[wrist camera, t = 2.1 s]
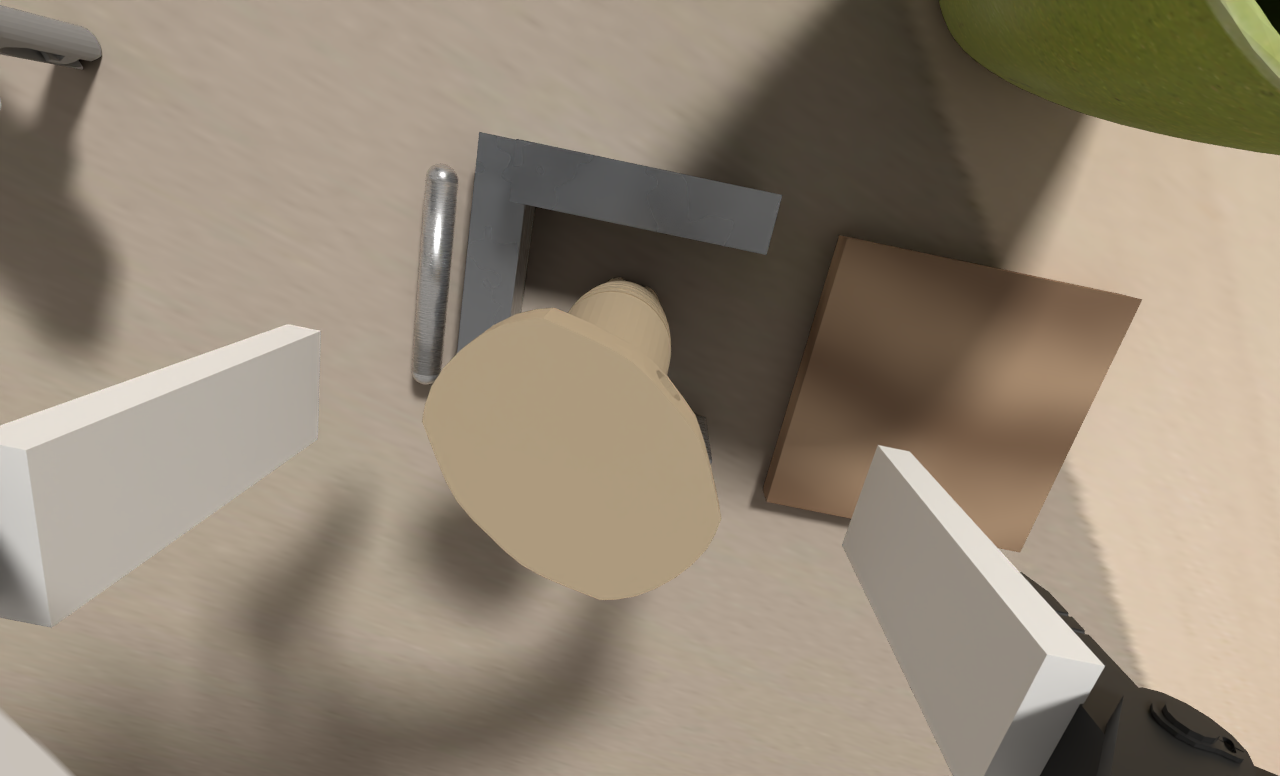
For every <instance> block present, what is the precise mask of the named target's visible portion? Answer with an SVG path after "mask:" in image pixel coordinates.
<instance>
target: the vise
mask: <svg viewBox="0 0 1280 776" xmlns="http://www.w3.org/2000/svg"><path fill="white" fill-rule="evenodd" d="M457 190H458V177H457V174H456V172H455V171H454V170H453V169H452V168H451V167H450V166H448V165H446V164H436V165H433V166H432V167H431V168H429V170H428V172H427V174H426V184H425V197H424V210H423V224H422V237H421V251H420V264H419V277H418V291H417V304H416V318H415V331H414V344H413V358H412V375H413V377H414V379H415V380H416V381H417V382H419V383H421V384H426V385H427V384H432V383H434V382H435V380H436V379H437V377H438V376H439V374H440V373H441V364H442V353H443V342H444V331H445V321H446V310H447V299H448V288H449V277H450V266H451V255H452V244H453V233H454V222H455V212H456V201H457ZM781 198H782V195H780V194H775V193H770V192H766V191H761V190H756V189H751V188H747V187H742V186H737V185H732V184H728V183H723V182H718V181H713V180H709V179H704V178H699V177H695V176H690V175H685V174H680V173H676V172H671V171H666V170H661V169H657V168H652V167H647V166H642V165H638V164H633V163H628V162H624V161H619V160H614V159H609V158H605V157H600V156H595V155H590V154H586V153H581V152H576V151H571V150H567V149H562V148H557V147H552V146H548V145H543V144H538V143H534V142H529V141H524V140H519V139H516V140H515V139H510V138H505V137H500V136H496V135H491V134H486V133H482V132H479V140H478V150H477V160H476V170H475V180H474V190H473V200H472V210H471V220H470V230H469V240H468V250H467V260H466V270H465V280H464V290H463V300H462V310H461V320H460V330H459V340H458V350H457V353H458V352H459V351H460V350H461V349H463V348H464V347H465V346H466V345H467V344H469V343H470V342H471V341H473V340H474V339H475V338H477V337H478V336H479V335H481V334H482V333H484V332H485V331H486V330H488V329H489V328H490V327H492V326H493V325H495V324H497V323H499V322H501V321H503V320H505V319H507V318H509V317H511V316H513V315H515V314H518V313H521V309H522V302H523V294H524V287H525V280H526V272H527V265H528V257H529V250H530V242H531V235H532V227H533V220H534V213H535V207H540V208H544V209H549V210H554V211H559V212H563V213H568V214H573V215H578V216H583V217H587V218H592V219H597V220H602V221H607V222H611V223H616V224H621V225H626V226H631V227H635V228H640V229H645V230H650V231H654V232H659V233H664V234H669V235H674V236H678V237H683V238H688V239H693V240H698V241H702V242H707V243H712V244H717V245H721V246H726V247H731V248H736V249H741V250H745V251H750V252H755V253H760V254H765V255H767V251H768V247H769V244H770V240H771V236H772V232H773V229H774V225H775V221H776V217H777V213H778V210H779V206H780V202H781ZM695 416H696V418H697V421H698V424H699V427H700V430H701V433H702V436H703V439H704V442H705V446H706V450H707V453H708V457H709V461H710V465H711V463H712V457H711V450H710V444H709V437H708V431H707V424H706V418H705V417H702V416H697V415H695Z"/></svg>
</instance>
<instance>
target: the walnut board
mask: <svg viewBox="0 0 1280 776" xmlns="http://www.w3.org/2000/svg"><path fill="white" fill-rule="evenodd" d="M1141 301H1142V300H1141V299H1137V298H1133V297H1130V296H1126V295H1122V294H1117V293H1112V292H1108V291H1103V290H1098V289H1093V288H1088V287H1084V286H1079V285H1074V284H1069V283H1065V282H1060V281H1055V280H1050V279H1046V278H1041V277H1036V276H1031V275H1027V274H1022V273H1017V272H1012V271H1008V270H1003V269H998V268H993V267H989V266H984V265H979V264H974V263H970V262H965V261H960V260H955V259H950V258H946V257H941V256H936V255H931V254H927V253H922V252H917V251H912V250H908V249H903V248H898V247H893V246H889V245H884V244H879V243H874V242H870V241H865V240H860V239H855V238H851V237H846V236H841V235H839V238H838V241H837V244H836V248H835V251H834V254H833V258H832V261H831V264H830V268H829V271H828V274H827V277H826V281H825V284H824V287H823V291H822V294H821V297H820V301H819V304H818V307H817V311H816V314H815V317H814V321H813V324H812V327H811V331H810V334H809V337H808V340H807V344H806V347H805V350H804V354H803V357H802V360H801V364H800V367H799V370H798V374H797V377H796V380H795V384H794V387H793V390H792V393H791V397H790V400H789V403H788V407H787V410H786V413H785V417H784V420H783V423H782V427H781V430H780V433H779V437H778V440H777V443H776V447H775V450H774V453H773V456H772V460H771V463H770V466H769V470H768V473H767V476H766V480H765V483H764V486H763V492H764V495H765V498H766V502H770V503H775V504H780V505H785V506H790V507H795V508H800V509H805V510H810V511H815V512H820V513H825V514H830V515H836V516H841V517H846V518H851V519H852V516H853V513H854V510H855V507H856V505H857V502H858V499H859V496H860V493H861V491H862V488H863V485H864V482H865V479H866V477H867V474H868V471H869V468H870V465H871V463H872V460H873V457H874V454H875V451H876V449H877V446H878V445H880V446H885V447H890V448H895V449H900V450H905V451H910V452H911V453H912V455H913V456H914V457H915V458H916V459H917V460H918V461H919V462H920V463H921V464H922V466H923V467H924V468H925V469H926V470H927V471H928V472H929V473H930V474H931V475H932V477H933V478H934V479H935V480H936V481H937V482H938V483H939V484H940V485H941V486H942V488H943V489H944V490H945V491H946V492H947V493H948V494H949V495H950V496H951V497H952V498H953V500H954V501H955V502H956V503H957V504H958V505H959V506H960V507H961V508H962V509H963V511H964V512H965V513H966V514H967V515H968V516H969V517H970V518H971V519H972V520H973V522H974V523H975V524H976V525H977V526H978V527H979V528H980V529H981V530H982V531H983V533H984V534H985V535H986V536H987V537H988V538H989V539H990V540H991V541H992V542H993V544H994V545H995V546H996V547H997V548H1001V549H1006V550H1011V551H1016V552H1020V551H1021V549H1022V547H1023V545H1024V543H1025V541H1026V539H1027V537H1028V535H1029V533H1030V531H1031V529H1032V526H1033V524H1034V522H1035V520H1036V518H1037V516H1038V514H1039V512H1040V510H1041V508H1042V506H1043V504H1044V502H1045V500H1046V497H1047V495H1048V493H1049V491H1050V489H1051V487H1052V485H1053V483H1054V481H1055V479H1056V477H1057V475H1058V473H1059V471H1060V469H1061V466H1062V464H1063V462H1064V460H1065V458H1066V456H1067V454H1068V452H1069V450H1070V448H1071V446H1072V444H1073V442H1074V440H1075V437H1076V435H1077V433H1078V431H1079V429H1080V427H1081V425H1082V423H1083V421H1084V419H1085V417H1086V415H1087V413H1088V411H1089V409H1090V406H1091V404H1092V402H1093V400H1094V398H1095V396H1096V394H1097V392H1098V390H1099V388H1100V386H1101V384H1102V382H1103V380H1104V377H1105V375H1106V373H1107V371H1108V369H1109V367H1110V365H1111V363H1112V361H1113V359H1114V357H1115V355H1116V353H1117V351H1118V348H1119V346H1120V344H1121V342H1122V340H1123V338H1124V336H1125V334H1126V332H1127V330H1128V328H1129V326H1130V324H1131V322H1132V320H1133V317H1134V315H1135V313H1136V311H1137V309H1138V307H1139V305H1140V303H1141Z"/></svg>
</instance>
